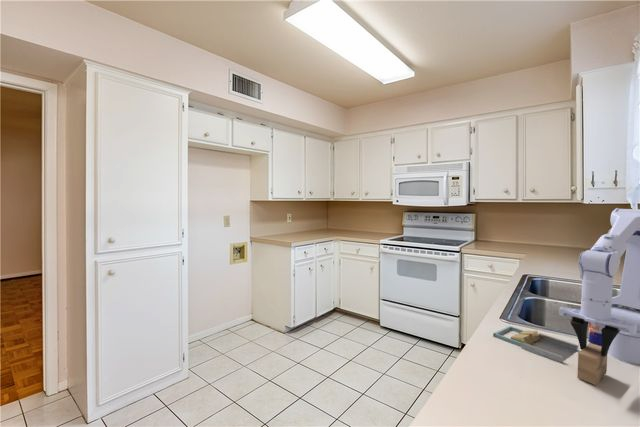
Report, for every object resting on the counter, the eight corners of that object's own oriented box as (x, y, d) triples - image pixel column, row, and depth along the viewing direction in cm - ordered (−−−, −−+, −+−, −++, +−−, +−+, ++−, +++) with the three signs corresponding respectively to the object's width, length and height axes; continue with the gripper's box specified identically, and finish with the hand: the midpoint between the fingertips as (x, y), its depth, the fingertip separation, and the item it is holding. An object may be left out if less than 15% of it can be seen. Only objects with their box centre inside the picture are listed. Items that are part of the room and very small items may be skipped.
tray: (509, 332, 107) (509, 325, 107) (537, 342, 100) (537, 334, 100) (493, 340, 101) (493, 333, 101) (521, 351, 94) (521, 343, 94)
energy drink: (583, 343, 100) (585, 306, 100) (602, 344, 99) (604, 307, 99) (596, 351, 95) (598, 313, 94) (615, 352, 94) (617, 314, 94)
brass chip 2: (526, 338, 102) (524, 330, 103) (539, 338, 99) (537, 330, 100) (520, 341, 100) (518, 333, 101) (534, 342, 97) (531, 333, 97)
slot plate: (539, 342, 101) (540, 333, 101) (578, 355, 92) (578, 345, 92) (521, 352, 93) (521, 343, 93) (560, 368, 85) (561, 357, 85)
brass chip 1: (518, 342, 100) (516, 334, 100) (532, 343, 96) (529, 334, 97) (512, 345, 97) (510, 337, 98) (526, 346, 94) (523, 337, 95)
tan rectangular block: (589, 366, 82) (590, 342, 82) (606, 372, 79) (607, 348, 79) (577, 377, 77) (578, 352, 77) (595, 384, 75) (596, 359, 74)
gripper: (555, 293, 81) (553, 344, 82) (632, 310, 69) (628, 369, 70) (565, 289, 85) (563, 337, 86) (640, 304, 73) (636, 360, 74)
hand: (593, 351), depth 78 cm, fingers closed on tan rectangular block, 3 cm apart
